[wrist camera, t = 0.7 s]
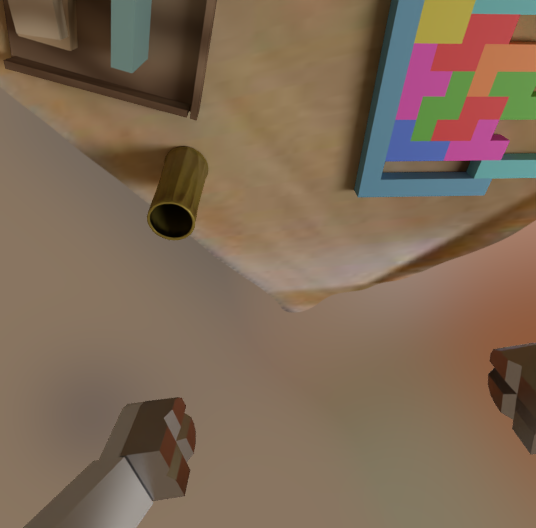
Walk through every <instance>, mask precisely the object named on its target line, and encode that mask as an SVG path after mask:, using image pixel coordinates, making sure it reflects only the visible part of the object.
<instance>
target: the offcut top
mask: <svg viewBox="0 0 536 528" xmlns="http://www.w3.org/2000/svg"><path fill="white" fill-rule="evenodd" d="M8 3H9V7H10V11H11V14H12V18H13V22H14V26H15V29H16V33H17V34H24V35H30V36H37V37H43V38H50V39H56V40H62V39H64V38H67V37H68V31H67V26H66V20H65V15H64V10H63V4H62V0H8Z"/></svg>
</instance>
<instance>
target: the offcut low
mask: <svg viewBox="0 0 536 528" xmlns="http://www.w3.org/2000/svg"><path fill="white" fill-rule="evenodd" d="M62 4H63V10H64V15H65V20H66V26H67V31H68V37H67V38H64V39H62V40H56V39H50V38H43V37H37V36H30V35H24V34H18V36H20V37H24V38H27V39H31V40H34V41H37V42H41V43H44V44H48V45H51V46H55V47H58V48H61V49H65V50H68V51H72V50H74V49H76V48H78V41H77V19H76V0H62Z"/></svg>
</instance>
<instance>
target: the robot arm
mask: <svg viewBox="0 0 536 528" xmlns="http://www.w3.org/2000/svg"><path fill="white" fill-rule="evenodd" d="M490 362H491V363H492V365H493V366H494V367H495V368H494V369H493V370H492V371H491V372H490V373H489V374H488V387H489V391H490V394H491V397H492V398H493V401H494V403H495V404H496V406H497V407H498V409H499V410H500V412H501V413H503V414H504V415H506V416H508V417H510V418H511V419H513V427H512V429H513V430H514V432H515V433H516V435H517V436H518V437H519V439H520V440H521V441H522V443H523V444H524V446H525V447H526V448H527V450H528V451H529V453H530V454H536V343H529V344H523V345H516V346H510V347H504V348H498V349H493V351H492V352H491V355H490ZM185 409H186V405H185V403H184V401H183V399H182V398H179V397H177V398H169V399H161V400H152V401H145V402H139V403H131V404H127V405H126V406H125V407H124V408H123V409H122V411H121V413H120V415H119V417H118V420H117V422H116V424H115V426H114V428H113V430H112V433H111V435H110V437H109V439H108V441H107V443H106V446H105V448H104V450H103V452H102V454H101V456H100V459H99V460H97V461H93V462H92V463H91V464H90V465H89V466H87V468H85V470H83V471H82V472H81V473H80V474H79V475H78V476H77V477H76V478H75V479H74V480H73V481H72V482H71V483H70V484H69V485H68V486H66V487H65V488H64V489H63V490H62V491H61V492H60V493H59V494H58V495H57V496H56V497H55V498H54V499H53V500H52V501H51V502H50V503H49V504H48V505H47V506H46V507H44V508H43V509H42V510H41V511H40V512H39V513H38V514H37V515H36V516H35V517H34V518H33V519H32V520H31V521H30V522H29V523H28V524H26V525H25V526H24V527H23V528H136V527H137V526H138V524H139V523H140V521H141V520H142V518H143V517H144V516H145V514H146V513H147V511H148V510H149V508H150V507H151V506H152V504H153V502H152V501H156V500H163V499H169V498H176V497H182V496H185V492H186V487H187V483H188V478H189V473H190V469H189V467H188V464H187V461H188V460H189V459H190V457H191V456H192V455H193V454H194V449H195V444H196V431H195V427H194V423H193V420H192V418H191V417H190V416H188V415H187V414H185V413H184V412H185Z"/></svg>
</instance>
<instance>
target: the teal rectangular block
mask: <svg viewBox="0 0 536 528" xmlns="http://www.w3.org/2000/svg"><path fill="white" fill-rule="evenodd" d="M151 4H152V0H111V67H112V68H115V69H119V70H122V71H126V72H129V73H133V72H134V71H135V70H137V69H138V68H139V67H140V66H141V65H142V64H143V63H144V62H145V61H146V60H147V59H148V50H149V35H150V19H151Z"/></svg>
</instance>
